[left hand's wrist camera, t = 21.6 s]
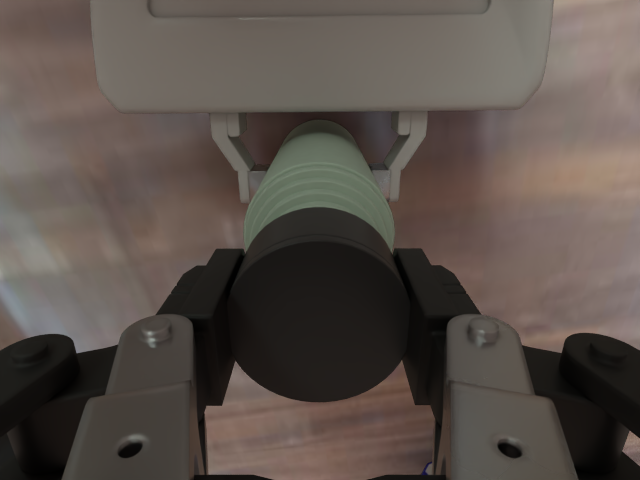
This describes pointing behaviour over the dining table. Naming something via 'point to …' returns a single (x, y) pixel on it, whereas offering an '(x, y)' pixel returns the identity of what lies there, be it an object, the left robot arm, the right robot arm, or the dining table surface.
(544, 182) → the dining table surface
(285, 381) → the cap
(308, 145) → the bottle
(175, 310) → the left robot arm
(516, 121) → the dining table surface
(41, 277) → the dining table surface
